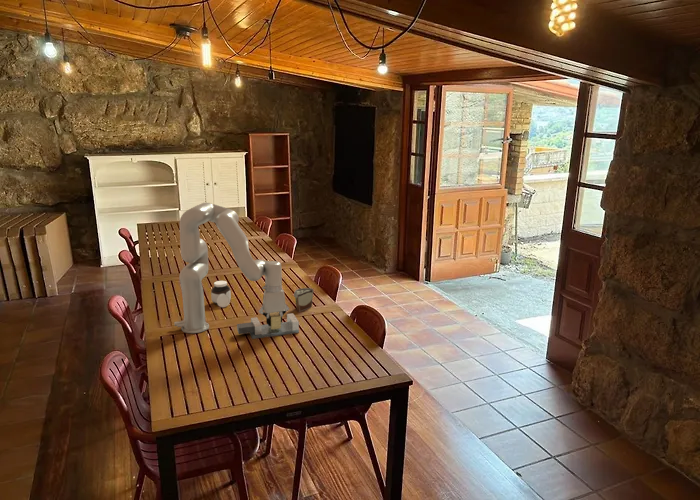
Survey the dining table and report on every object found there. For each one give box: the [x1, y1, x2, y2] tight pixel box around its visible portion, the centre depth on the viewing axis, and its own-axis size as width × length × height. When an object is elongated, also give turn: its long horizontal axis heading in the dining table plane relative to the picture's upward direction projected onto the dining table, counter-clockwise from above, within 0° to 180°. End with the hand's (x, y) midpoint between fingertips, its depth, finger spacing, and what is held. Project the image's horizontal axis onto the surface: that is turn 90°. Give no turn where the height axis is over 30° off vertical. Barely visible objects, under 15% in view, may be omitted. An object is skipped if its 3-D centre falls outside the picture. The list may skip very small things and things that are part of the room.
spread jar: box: [210, 280, 232, 308], centre depth 267 cm, size 12×11×12 cm
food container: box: [293, 287, 314, 313], centre depth 263 cm, size 12×6×10 cm, turn 141°
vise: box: [249, 312, 300, 340], centre depth 234 cm, size 22×11×6 cm, turn 110°
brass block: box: [269, 312, 282, 329], centre depth 234 cm, size 4×8×6 cm, turn 20°
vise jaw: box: [236, 316, 262, 335], centre depth 230 cm, size 10×11×4 cm
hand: (274, 324), depth 234 cm, fingers closed on brass block, 4 cm apart
